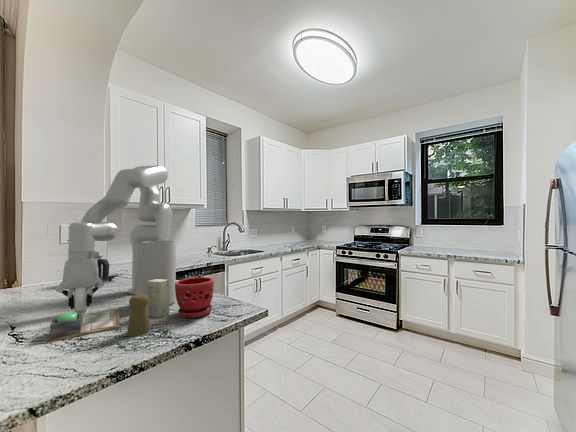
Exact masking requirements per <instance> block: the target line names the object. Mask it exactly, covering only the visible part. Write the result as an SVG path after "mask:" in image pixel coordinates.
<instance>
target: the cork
mask: <svg viewBox="0 0 576 432" xmlns="http://www.w3.org/2000/svg"><path fill="white" fill-rule="evenodd" d="M148 303H149V297H148V295H146V294H133V295H131V297H130V298H129V300H128V305H129V306H130V312H129V319H128V326H127V333H126V336H128V337H139V336H144V335H146V334H148V333H149V332H150V331H151V328H150V318H149V316H148V310H147V304H148Z"/></svg>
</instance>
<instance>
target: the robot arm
mask: <svg viewBox="0 0 576 432" xmlns="http://www.w3.org/2000/svg"><path fill="white" fill-rule="evenodd" d="M168 177H169V173H168V169H167V168H165V166H163V165H159V164H157V165H155V164H154V165H139V166H136V167H134V168H124V169H120V170H119V171H118V172H117V173H116V175H115V177H114V178H113V180H112V182H111V184H110V185H109V188H108V190H107V192H106V194H105V195H104V197H102V199H99V200H98V201H97V202H96V203H95V204H94V205H92V206H91V207H90V208H89V209H88V210H86V212H85V214H84V216H83V217H82V218H81V221H78V222H71V223H70V224H69V225H68V246H67V247H68V252H67V260H65V262H64V266H63V274H62V281H61V282H60V283H59V284H58V286H57V287H56V288H55V292H57V293H60V294H62V295H64V296H65V297H66V298H67V299H68V304H67V305H68V307H70V310H73V307H74V289H76V288H79V287H85V288H86V287H87V288H88V296H87V308H89V307H90V306H91V304H93V294H95V293H96V292H97V291H98V290H99V289H100V288H101V289H102V287H104V286H105V283H104V281H103V280H101V279H100V278H99V274H98V262H97V259H94V257H95V256H100V251H95V248H96V247H95V246H96V245H95V244H96V243H95V242H108V241H113V240H115V239H116V238H117V236H118V235H119V234H120V233H119V232H120V230H119V227H118V226H117V224H115V223H113V222H110V221H104V219H106V217H108V216H110V214H113V213H115V212H117V211H119V210H121V209H123V208H126V207H127V206H128V204H129V202H130V201H131V197H133V193H134V191H135V190H136V189H139V191H140V196H139V197H140V199H139V204H138V209H137V218H138V220H139V221H141V222H143V223H154V224H138V225H136V226H134V227H133V228H132V229H131V230H130V234H129V235H130V236H129V237H130V243H131V249H132V250H131V251H132V259H131V260H132V263H131V266H132V267H131V268H132V270H131V272H132V273H131V288H129V289H128V290H127V293H128V294H129V295H137V294H141V252H142V242H145V241H170V239H169V238H170V236H171V229H172V222H173V210H172V207H171V206H170V205H169V204H168V203H167V202H160V198H161V195H160V191H159V188H157V187H158V185H161V184H164V183H165V182H166V181H167V180H168ZM102 281H103V282H102ZM97 284H99V285H97Z"/></svg>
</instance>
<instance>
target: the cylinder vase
mask: <svg viewBox="0 0 576 432" xmlns="http://www.w3.org/2000/svg"><path fill="white" fill-rule="evenodd" d="M176 264H177V241H176V240H168V241H145V242H142V252H141V294H146V295H147V281H150V280H154V279H166V280H169V306H171V305H172V304H174V303H175V301H176V294H175V283H176V282H177V281H176V276H177V275H176V273H177V272H176V268H177V265H176Z"/></svg>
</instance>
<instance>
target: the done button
mask: <svg viewBox="0 0 576 432" xmlns="http://www.w3.org/2000/svg"><path fill="white" fill-rule="evenodd" d="M57 317H58V319H57V323H59V322H65V321H71V320H77V313H75V312H67V313H62V314H60V315H58V316H57Z"/></svg>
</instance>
